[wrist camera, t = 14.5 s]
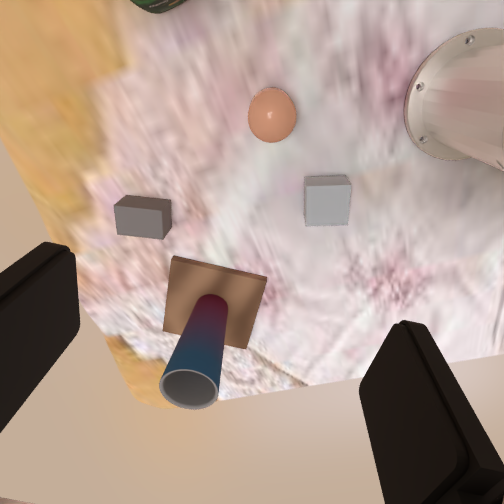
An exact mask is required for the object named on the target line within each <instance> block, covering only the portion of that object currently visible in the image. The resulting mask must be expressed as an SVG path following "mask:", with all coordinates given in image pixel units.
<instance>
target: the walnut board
mask: <svg viewBox="0 0 504 504" xmlns="http://www.w3.org/2000/svg"><path fill="white" fill-rule="evenodd" d="M266 282H267V277H264V276H260V275H255V274H251V273H247V272H242V271H238V270H234V269H229V268H225V267H221V266H217V265H212V264H208V263H204V262H199V261H195V260H191V259H186V258H182V257H178V256H173V258H172V259H171V266H170V274H169V282H168V291H167V299H166V307H165V316H164V324H163V331H164V332H169V333H173V334H178V335H182V332H183V330H184V328H185V326H186V324H187V322H188V319H189V317H190V315H191V313H192V311H193V309H194V306H195V304H196V302H197V300H198V299H199V298H200V297H202V296H204V295H207V294H214V295H217V296H220V297H221V298H223V299H224V300H225V301H226V303H227V305H228V315H227V324H226V332H225V341H224V345H228V346H233V347H237V348H242V349H246V348H247V345H248V341H249V338H250V335H251V331H252V328H253V325H254V321H255V318H256V315H257V312H258V308H259V305H260V302H261V298H262V295H263V292H264V288H265V285H266Z"/></svg>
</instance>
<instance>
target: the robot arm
mask: <svg viewBox="0 0 504 504" xmlns="http://www.w3.org/2000/svg"><path fill="white" fill-rule="evenodd" d="M466 38H467V39H468V42H467V44H465V40H466ZM417 84H419V88H418V89H416V85H417ZM404 117H405V125H406V128H407V131H408V134H409V136H410V137H411V139H412V141H413V142H414V143H415V144H416V145H417V146H418V148H419V149H421V150H422V151H424V152H425V153H427V154H429V155H431V156H433V157H435V158H439V159H443V160H462V159H468V158H471V157H473V158H475V159H477V160H479V161H482V162H484V163H486V164H488V165H491V166H493V167H495V168H497V169H500V170H502V171H504V29H499V28H482V29H476V30H472V31H468V32H465V33H463V34H460V35H457V36H455V37H453V38H452V39H450V40H448V41H447V42H445V43H443V44H442V45H441V46H440V47H438V48H437V49H436V50H435V51H434V52H432V53H431V54H430V56H429V57H428V58H427V59H426V60H425V61H424V62H423V63H422V65H421V66H420V68H419V69H418V71H417V72H416V74H415V75H414V77H413V80H412V82H411V84H410V86H409V88H408V92H407V96H406V99H405V107H404ZM421 136H422V137H423V138H422V140H420V138H421ZM79 328H80V314H79V299H78V286H77V272H76V258H75V254H74V253H72V252H70V249H69V247H67V246H64V245H60V244H55V243H51V242H43V243H41V244H40V245H39V246H37V247H36V248H34V249H33V250H32V251H30V252H29V253H27V254H26V255H25V256H23V257H22V258H21V259H19V260H18V261H16V262H15V263H14V264H12V265H11V266H9V267H8V268H7V269H5V270H4V271H2V272H1V273H0V433H1V431H2V430H3V429H4V428H5V426H6V425H7V424H8V423H9V421H10V420H11V419H12V417H13V416H14V415H15V414H16V412H17V411H18V410H19V408H20V407H21V406H22V405H23V403H24V402H25V401H26V399H27V398H28V397H29V396H30V394H31V393H32V391H33V390H34V389H35V388H36V386H37V385H38V384H39V382H40V381H41V380H42V379H43V377H44V376H45V375H46V373H47V372H48V371H49V370H50V368H51V367H52V366H53V365H54V363H55V362H56V361H57V359H58V358H59V357H60V356H61V354H62V353H63V352H64V350H65V349H66V348H67V346H68V345H69V344H70V343H71V341H72V340H73V339H74V337H75V336H76V335H77V333H78V331H79ZM359 395H360V400H361V404H362V409H363V413H364V417H365V421H366V425H367V430H368V433H369V438H370V442H371V447H372V451H373V455H374V459H375V463H376V468H377V472H378V476H379V480H380V485H381V489H382V493H383V497H384V501H385V504H504V464H503V462H502V460H501V458H500V457H499V455H498V453H497V451H496V450H495V448H494V446H493V444H492V443H491V441H490V439H489V437H488V435H487V434H486V432H485V430H484V428H483V426H482V425H481V423H480V421H479V419H478V418H477V416H476V414H475V412H474V410H473V409H472V407H471V405H470V403H469V402H468V400H467V398H466V396H465V394H464V393H463V391H462V389H461V387H460V385H459V384H458V382H457V380H456V378H455V377H454V375H453V373H452V371H451V369H450V368H449V366H448V364H447V362H446V361H445V359H444V357H443V355H442V353H441V352H440V350H439V348H438V346H437V345H436V343H435V341H434V339H433V337H432V336H431V334H430V332H429V330H428V329H427V327H426V326H425V325H424V324H421V323H416V322H412V321H407V320H402V321H401V322H400V323H399V324H397V323H396V324H394V325H393V326H392V328H391V330H390V331H389V333H388V335H387V337H386V338H385V340H384V342H383V344H382V346H381V347H380V349H379V351H378V353H377V354H376V356H375V358H374V360H373V362H372V363H371V365H370V367H369V369H368V370H367V372H366V374H365V376H364V378H363V379H362V381H361V383H360V387H359ZM0 504H33V503H28V502H23V501H17V500H12V499H7V498H1V497H0Z"/></svg>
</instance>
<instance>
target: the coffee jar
mask: <svg viewBox="0 0 504 504" xmlns="http://www.w3.org/2000/svg"><path fill="white" fill-rule="evenodd" d="M130 1H132V2H133V3H134V4H136V5H137V6H139V7H140V8H142V9H144V10H146V11H148V12H151V13H162V12H164V11H167V10H169V9H171V8H173V7H175V6H177V5H179V4H181V3H183V2H184V1H186V0H130Z"/></svg>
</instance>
